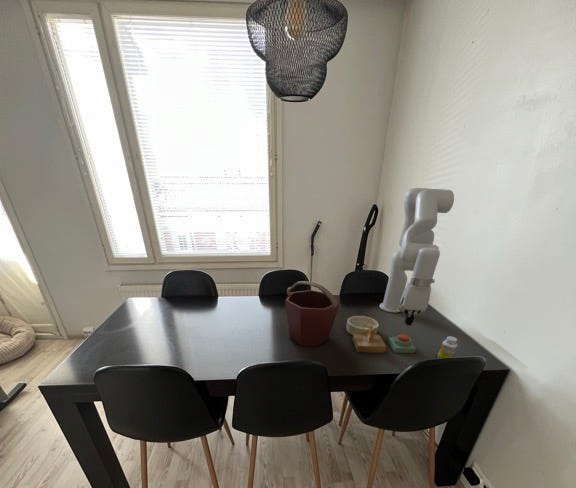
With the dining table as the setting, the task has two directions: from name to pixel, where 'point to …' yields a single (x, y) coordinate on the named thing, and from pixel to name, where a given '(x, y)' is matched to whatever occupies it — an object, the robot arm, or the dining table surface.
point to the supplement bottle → (448, 348)
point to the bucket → (310, 314)
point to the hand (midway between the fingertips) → (407, 324)
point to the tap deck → (368, 344)
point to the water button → (403, 338)
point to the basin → (360, 324)
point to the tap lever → (369, 333)
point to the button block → (401, 345)
